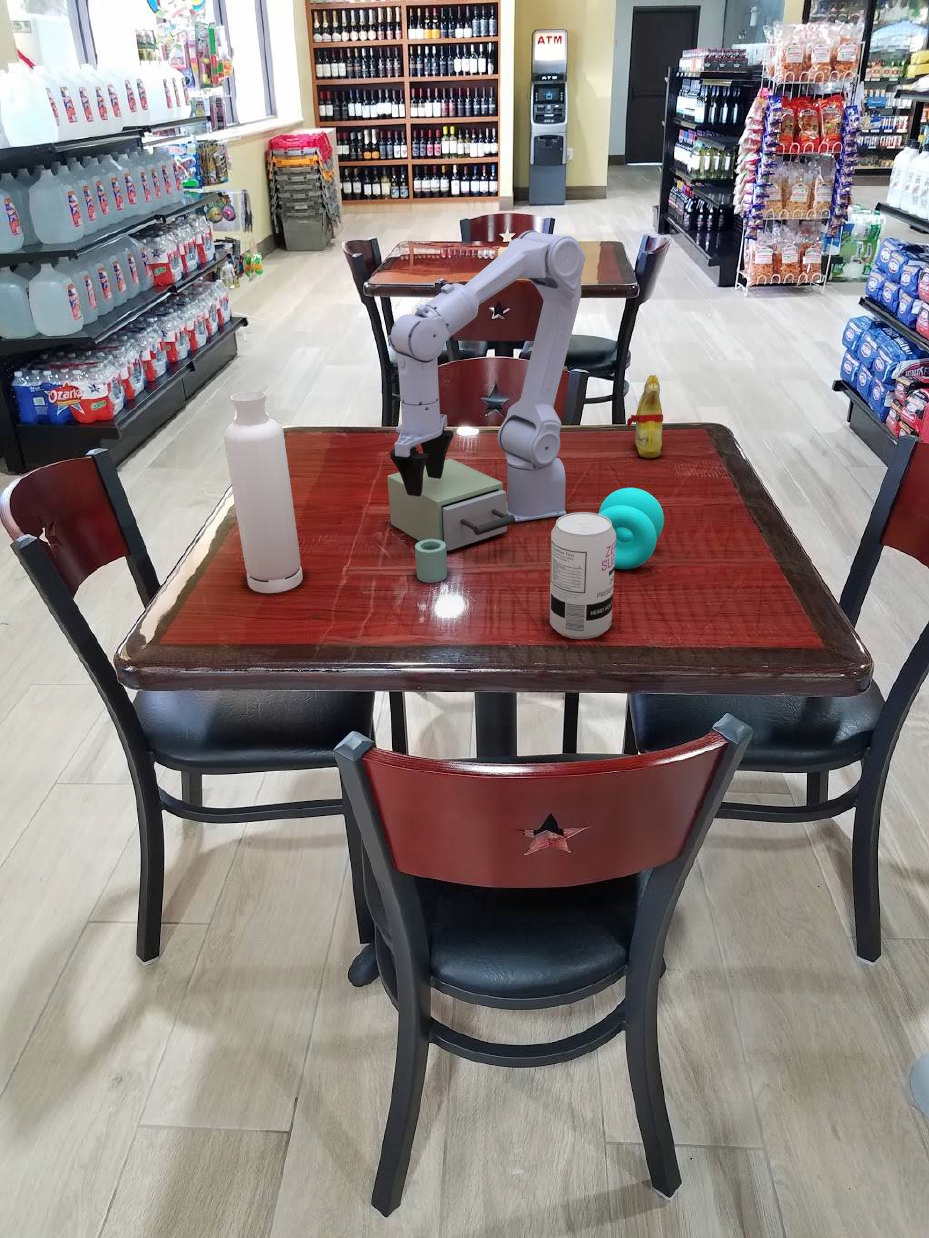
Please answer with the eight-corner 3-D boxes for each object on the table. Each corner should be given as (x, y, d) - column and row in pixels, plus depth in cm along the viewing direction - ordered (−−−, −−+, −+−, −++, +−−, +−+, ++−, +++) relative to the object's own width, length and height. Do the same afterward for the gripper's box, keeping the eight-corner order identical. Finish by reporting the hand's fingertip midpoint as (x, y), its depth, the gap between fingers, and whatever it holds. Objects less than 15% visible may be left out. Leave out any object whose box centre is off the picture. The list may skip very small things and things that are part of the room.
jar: (442, 567, 141) (441, 537, 139) (450, 580, 137) (449, 549, 135) (414, 571, 140) (412, 541, 138) (420, 584, 136) (419, 554, 134)
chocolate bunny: (657, 441, 188) (663, 367, 180) (664, 460, 178) (670, 382, 171) (623, 441, 188) (627, 367, 181) (628, 460, 179) (632, 383, 171)
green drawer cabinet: (503, 532, 152) (502, 482, 147) (439, 553, 146) (437, 502, 141) (452, 505, 162) (450, 458, 158) (390, 524, 156) (387, 475, 152)
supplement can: (544, 613, 128) (546, 512, 120) (604, 609, 128) (609, 508, 121) (554, 643, 121) (556, 538, 113) (617, 639, 121) (623, 534, 114)
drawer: (526, 541, 146) (526, 501, 143) (467, 562, 140) (466, 520, 137) (458, 506, 159) (457, 468, 156) (402, 523, 154) (399, 484, 150)
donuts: (662, 548, 145) (667, 488, 140) (652, 576, 136) (657, 513, 131) (599, 541, 148) (602, 482, 143) (585, 568, 139) (587, 506, 134)
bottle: (306, 587, 137) (281, 400, 123) (250, 596, 135) (219, 407, 121) (298, 564, 143) (274, 384, 130) (245, 572, 142) (215, 391, 128)
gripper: (416, 384, 145) (421, 467, 151) (373, 411, 133) (380, 500, 140) (458, 388, 142) (461, 472, 149) (417, 416, 131) (423, 505, 137)
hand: (424, 486), depth 144 cm, fingers open, 7 cm apart
